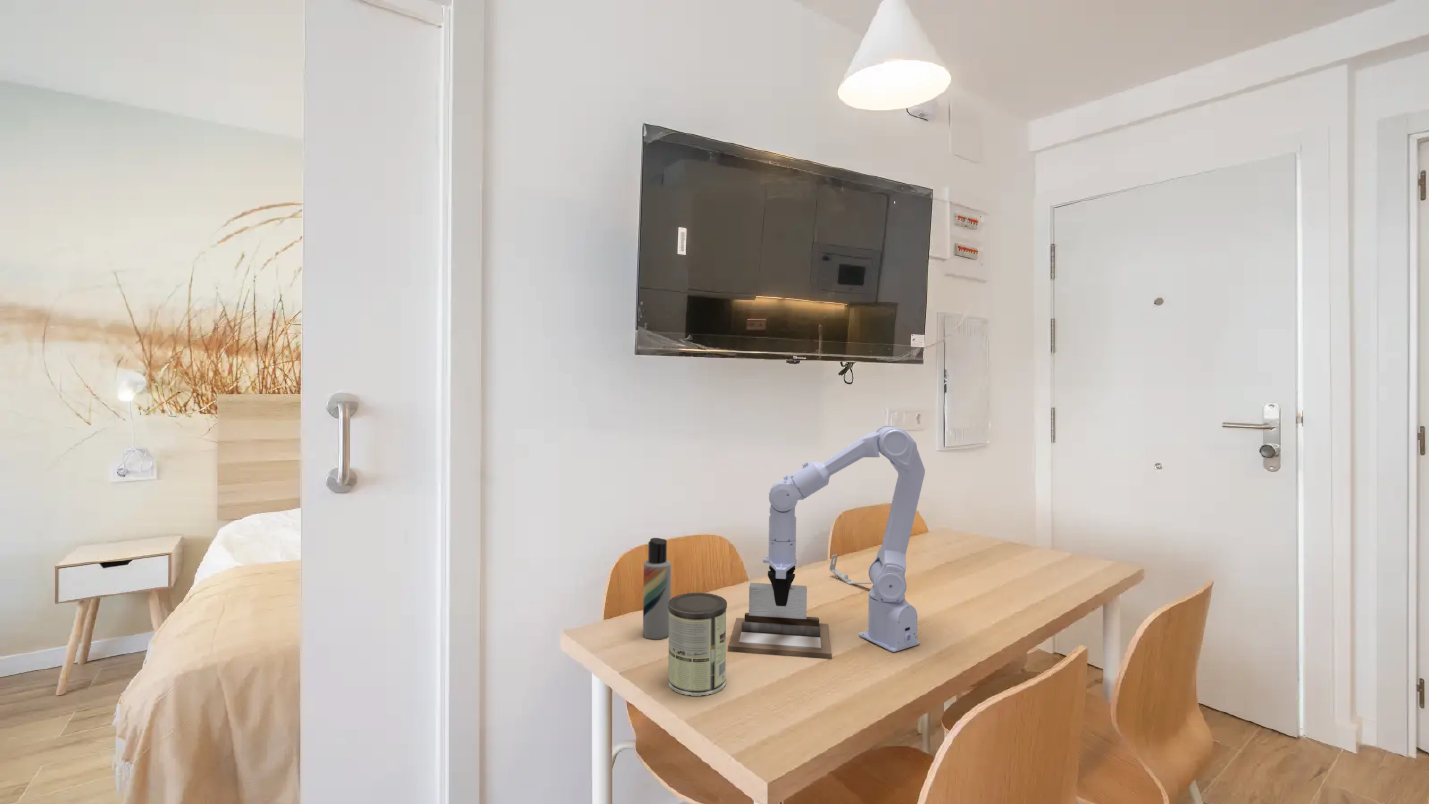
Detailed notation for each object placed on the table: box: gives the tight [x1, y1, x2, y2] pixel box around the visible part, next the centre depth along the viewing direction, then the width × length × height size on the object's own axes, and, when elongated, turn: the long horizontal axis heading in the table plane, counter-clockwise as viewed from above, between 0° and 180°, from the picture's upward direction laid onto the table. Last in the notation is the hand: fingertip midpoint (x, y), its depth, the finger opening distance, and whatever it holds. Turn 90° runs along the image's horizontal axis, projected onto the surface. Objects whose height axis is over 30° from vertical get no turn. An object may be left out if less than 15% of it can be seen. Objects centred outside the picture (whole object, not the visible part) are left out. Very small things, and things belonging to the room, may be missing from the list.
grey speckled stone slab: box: [748, 582, 808, 619], centre depth 126 cm, size 12×3×6 cm, turn 82°
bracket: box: [829, 554, 873, 585], centre depth 159 cm, size 2×6×15 cm
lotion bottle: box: [642, 537, 672, 640], centre depth 124 cm, size 6×6×20 cm
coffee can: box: [667, 592, 728, 697], centre depth 104 cm, size 10×10×14 cm
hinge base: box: [727, 612, 833, 660], centre depth 122 cm, size 20×15×3 cm
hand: (781, 602), depth 126 cm, fingers closed on grey speckled stone slab, 3 cm apart
